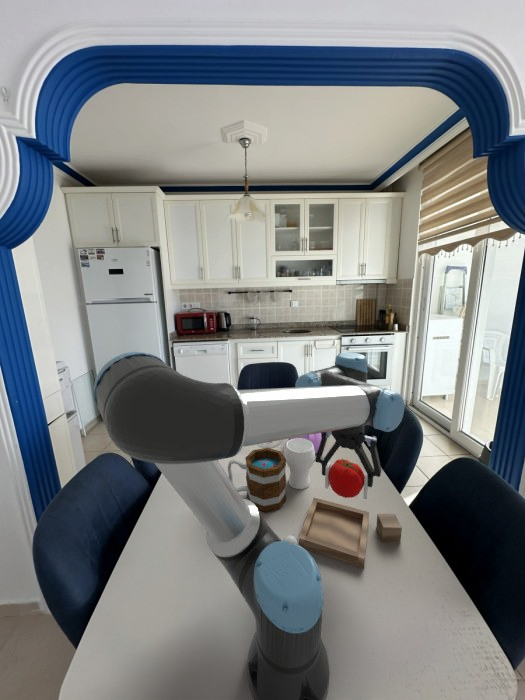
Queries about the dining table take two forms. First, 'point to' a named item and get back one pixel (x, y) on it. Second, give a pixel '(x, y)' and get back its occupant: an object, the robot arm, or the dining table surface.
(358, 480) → the tomato
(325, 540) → the tray
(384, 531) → the walnut block
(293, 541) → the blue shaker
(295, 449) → the cup
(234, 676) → the dining table surface
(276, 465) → the mug
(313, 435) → the teapot
